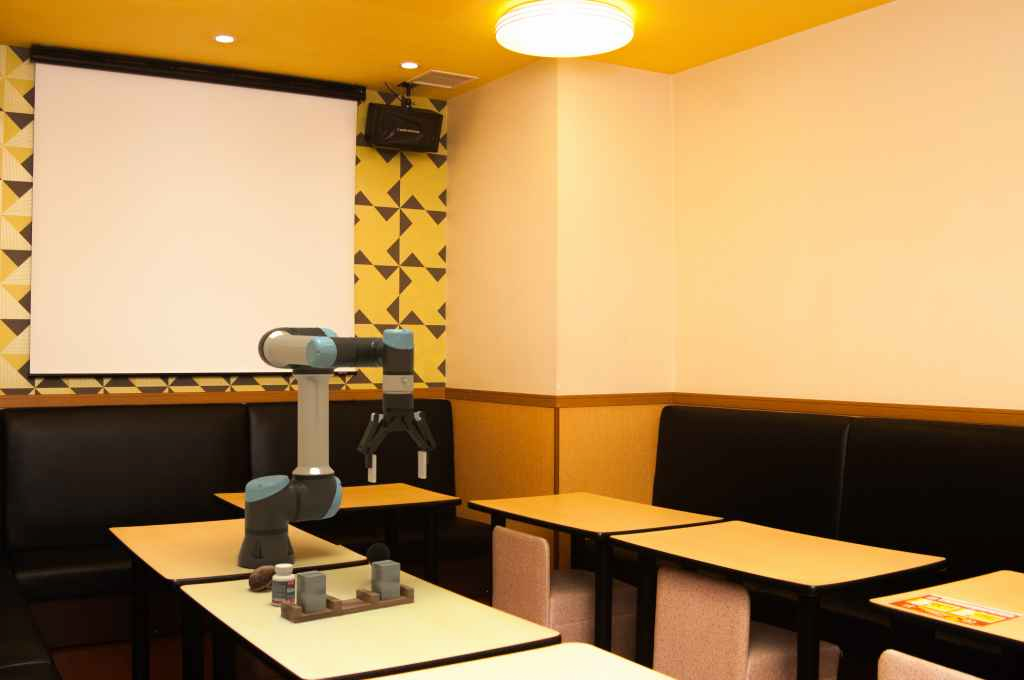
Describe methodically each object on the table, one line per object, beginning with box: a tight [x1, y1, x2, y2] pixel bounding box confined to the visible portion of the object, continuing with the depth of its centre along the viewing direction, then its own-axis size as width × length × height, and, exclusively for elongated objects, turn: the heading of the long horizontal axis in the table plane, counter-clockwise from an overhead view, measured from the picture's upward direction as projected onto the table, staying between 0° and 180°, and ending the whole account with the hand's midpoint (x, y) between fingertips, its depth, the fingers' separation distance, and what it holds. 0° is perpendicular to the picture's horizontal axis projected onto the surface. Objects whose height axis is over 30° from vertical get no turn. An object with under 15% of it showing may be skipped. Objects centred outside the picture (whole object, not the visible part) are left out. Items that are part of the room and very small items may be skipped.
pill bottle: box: [271, 564, 296, 607], centre depth 232 cm, size 5×5×9 cm
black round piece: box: [366, 542, 391, 568], centre depth 253 cm, size 6×6×10 cm
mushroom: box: [248, 565, 276, 592], centre depth 246 cm, size 8×8×6 cm
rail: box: [280, 559, 415, 624], centre depth 228 cm, size 7×30×9 cm, turn 128°
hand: (397, 480), depth 244 cm, fingers open, 13 cm apart
